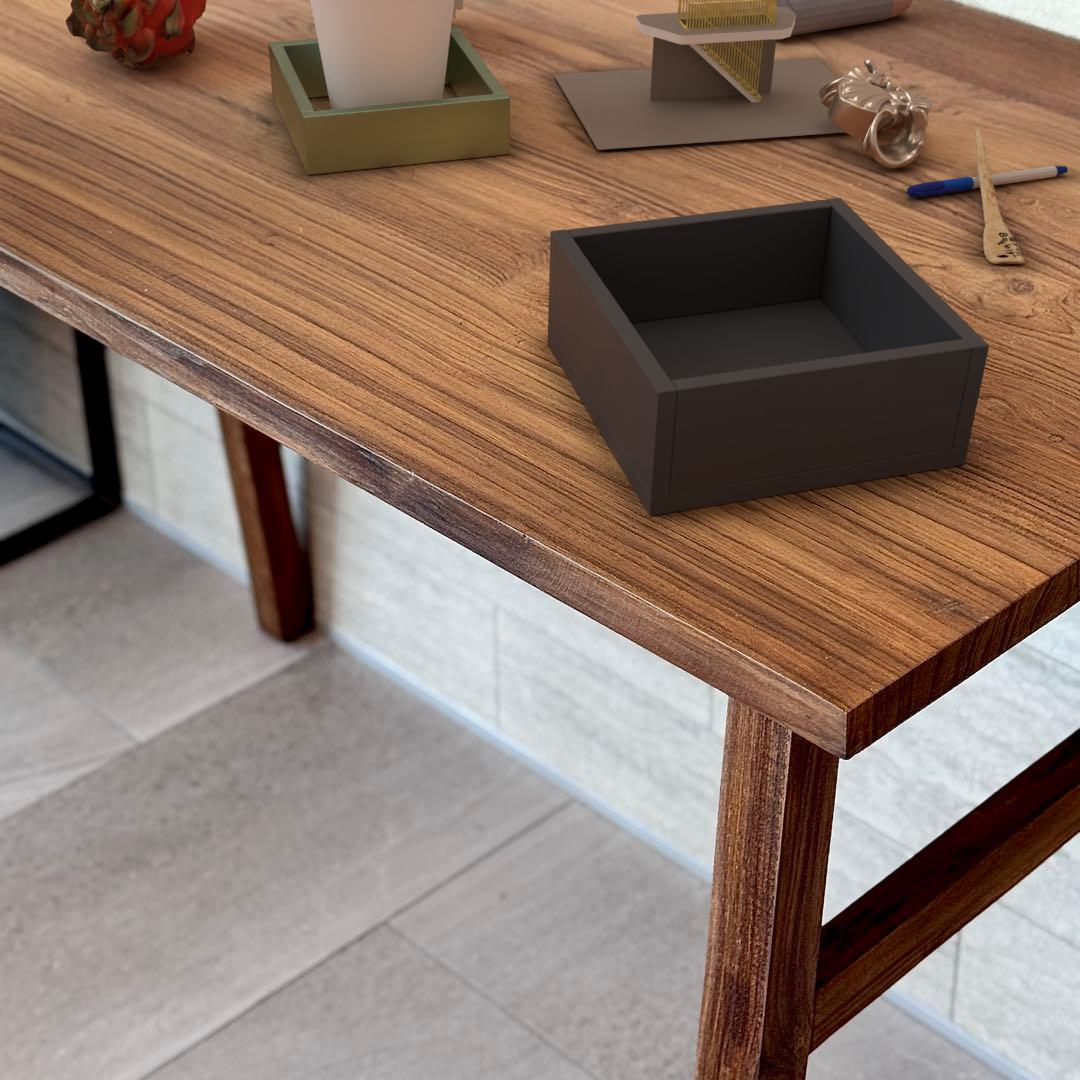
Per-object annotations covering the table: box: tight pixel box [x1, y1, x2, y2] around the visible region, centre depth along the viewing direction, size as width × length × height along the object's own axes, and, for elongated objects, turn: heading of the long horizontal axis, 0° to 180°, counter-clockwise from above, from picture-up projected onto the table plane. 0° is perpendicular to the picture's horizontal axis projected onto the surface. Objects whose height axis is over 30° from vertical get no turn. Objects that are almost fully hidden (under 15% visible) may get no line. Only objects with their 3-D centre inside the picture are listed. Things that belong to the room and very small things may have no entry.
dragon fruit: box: [64, 0, 207, 71], centre depth 107 cm, size 8×8×12 cm
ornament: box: [819, 57, 933, 169], centre depth 99 cm, size 8×7×4 cm
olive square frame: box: [267, 25, 511, 176], centre depth 100 cm, size 12×12×4 cm
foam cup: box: [309, 0, 454, 109], centre depth 97 cm, size 10×9×13 cm
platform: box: [553, 0, 845, 151], centre depth 103 cm, size 12×18×7 cm, turn 102°
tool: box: [975, 127, 1025, 265], centre depth 93 cm, size 14×1×2 cm
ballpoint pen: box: [906, 165, 1069, 198], centre depth 96 cm, size 10×1×1 cm
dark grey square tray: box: [547, 197, 990, 517], centre depth 75 cm, size 15×15×6 cm
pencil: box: [763, 0, 913, 41], centre depth 116 cm, size 11×3×3 cm, turn 119°
